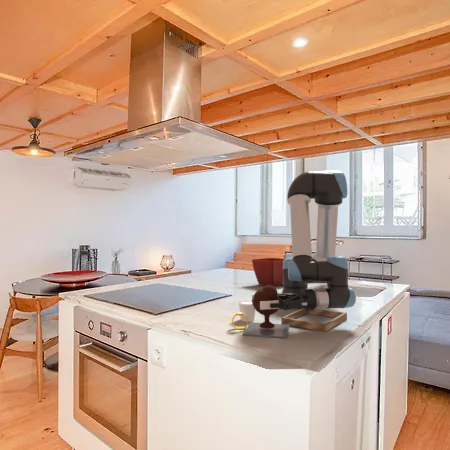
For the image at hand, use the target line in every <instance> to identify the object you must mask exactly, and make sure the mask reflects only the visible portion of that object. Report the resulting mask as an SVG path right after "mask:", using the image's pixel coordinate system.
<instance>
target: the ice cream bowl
mask: <svg viewBox="0 0 450 450" xmlns="http://www.w3.org/2000/svg"><path fill="white" fill-rule="evenodd" d="M278 293H279V292H278V290H277V287H276V286H272V285H266V286H265V285H264V286H263V287H262V288H260V289H258V290H257V291H255V292H254V294H253V295H254V298H253V299H252V298H251V301H252V304H253V306H254V308H255V312H257V313H259V314H261V315H263V317H264V321H263V322H260V323H261V324H260V327H261V328H268V329H269V328H274V327H275V326H274V324H275V323H272V322H271V321H270V316H271V315H273V314H275V313H277V312H278V311H279V310H281V309H280V308H279V309H264V310H260V301H277V300H278V301H279V299H280V298H279V296H278V295H277V294H278Z"/></svg>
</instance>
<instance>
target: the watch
mask: <svg viewBox="0 0 450 450" xmlns="http://www.w3.org/2000/svg"><path fill="white" fill-rule="evenodd" d="M242 315H243V316H245V317H246V319H247V322H246V324H245V325H244V326H243V327H241V326H239V327H237V326H236V325H235V324H234V319H235V317H237V316H239V317H240V316H242ZM231 324H232V326H233V328H234V329H235V330H246V328H247V327H248V325H249V322H248V318H247V316H246V315H245V314H244V313H243V312H240V311H237V312H235V314H234V315H233V317H232V319H231Z"/></svg>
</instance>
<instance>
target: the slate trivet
mask: <svg viewBox="0 0 450 450" xmlns="http://www.w3.org/2000/svg"><path fill="white" fill-rule="evenodd" d="M261 323H262V322H254V321H251V322H250V323H248V325H247V327H246V328H245V329H244V331H243V333H242V335H241V336H244V337H245V336H246V337H247V336H248V337H257V338H258V337H259V338H270V339H271V338H272V339H273V338H274V339H286V340H287V337H288V333H289V330H290V327H291V325H287V324H282V323H273V324H274V326H275V327H274V328H269V329H268V328H261V327H260V324H261Z"/></svg>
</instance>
